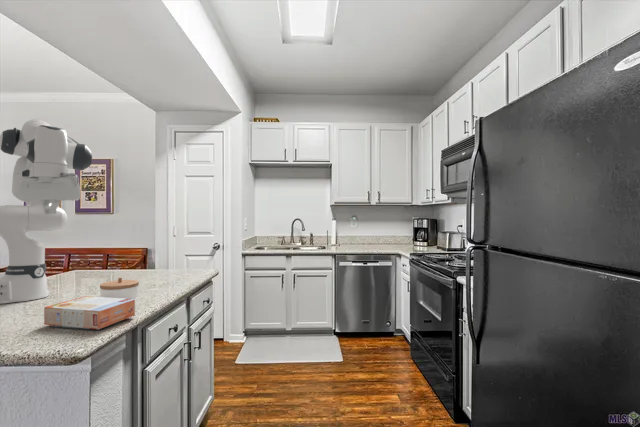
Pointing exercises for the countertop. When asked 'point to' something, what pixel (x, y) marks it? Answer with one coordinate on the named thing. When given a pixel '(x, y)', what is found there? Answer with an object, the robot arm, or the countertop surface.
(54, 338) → the countertop surface
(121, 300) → the cracker box
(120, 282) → the lidded bowl
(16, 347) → the countertop surface
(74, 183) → the robot arm
